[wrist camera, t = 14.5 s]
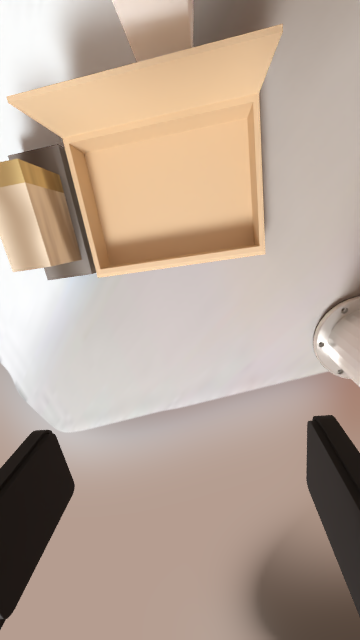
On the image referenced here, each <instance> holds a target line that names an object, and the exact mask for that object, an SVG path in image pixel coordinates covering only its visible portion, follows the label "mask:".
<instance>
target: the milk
mask: <svg viewBox="0 0 360 640" xmlns="http://www.w3.org/2000/svg"><path fill="white" fill-rule="evenodd" d="M112 2H113V4H114V7H115V9H116V12H117V14H118V17H119V19H120V22H121V24H122V27H123V29H124V32H125V34H126V37H127V39H128V42H129V44H130V47H131V49H132V52H133V54H134V57H135V59H136V61H137V62H140V61H144V60H148V59H151V58H155V57H159V56H163V55H167V54H170V53H174V52H178V51H182V50H185V49H189V48H193V19H194V0H112Z"/></svg>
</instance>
